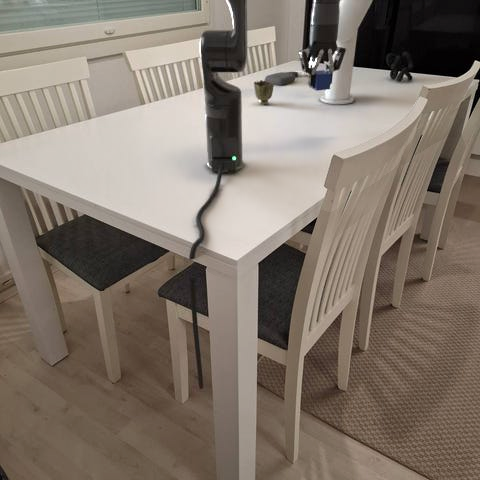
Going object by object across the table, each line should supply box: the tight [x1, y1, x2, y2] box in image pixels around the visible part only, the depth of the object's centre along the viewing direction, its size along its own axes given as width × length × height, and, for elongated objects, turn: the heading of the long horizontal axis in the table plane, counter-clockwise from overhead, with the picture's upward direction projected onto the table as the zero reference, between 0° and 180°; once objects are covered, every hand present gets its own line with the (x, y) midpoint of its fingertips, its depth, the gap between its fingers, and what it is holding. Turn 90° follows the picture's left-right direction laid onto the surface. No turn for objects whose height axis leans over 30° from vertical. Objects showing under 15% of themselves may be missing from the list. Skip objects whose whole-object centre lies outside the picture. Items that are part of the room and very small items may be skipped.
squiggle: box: [385, 51, 414, 83], centre depth 198 cm, size 11×10×15 cm
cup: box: [253, 79, 275, 106], centre depth 169 cm, size 8×7×8 cm
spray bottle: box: [264, 70, 309, 86], centre depth 204 cm, size 3×11×25 cm
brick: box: [308, 69, 331, 92], centre depth 128 cm, size 5×4×4 cm
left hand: (319, 86), depth 129 cm, fingers closed on brick, 4 cm apart
